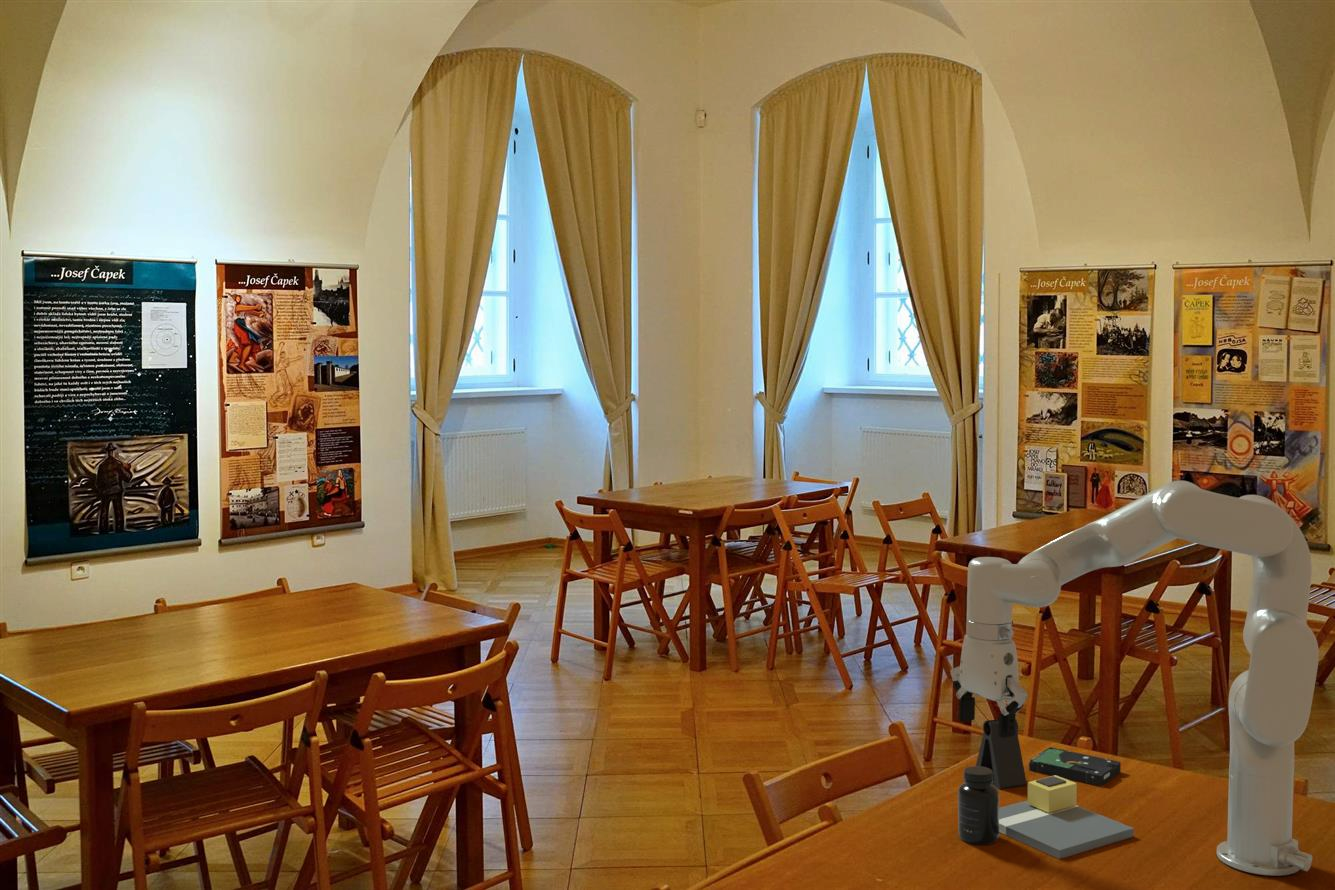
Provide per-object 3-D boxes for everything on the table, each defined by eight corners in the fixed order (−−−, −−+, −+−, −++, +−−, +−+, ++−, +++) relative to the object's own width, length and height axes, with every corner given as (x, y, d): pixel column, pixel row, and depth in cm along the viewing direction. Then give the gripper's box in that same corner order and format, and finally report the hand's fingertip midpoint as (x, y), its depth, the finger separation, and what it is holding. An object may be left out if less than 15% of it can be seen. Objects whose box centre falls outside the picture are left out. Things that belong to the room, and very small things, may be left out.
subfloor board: (1133, 836, 218) (1133, 828, 218) (1059, 859, 209) (1059, 850, 209) (1049, 802, 234) (1049, 794, 234) (977, 821, 225) (977, 813, 225)
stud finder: (1076, 804, 228) (1076, 781, 228) (1048, 812, 224) (1048, 788, 224) (1055, 796, 232) (1055, 773, 232) (1027, 803, 229) (1027, 780, 228)
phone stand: (1026, 786, 243) (1027, 724, 242) (999, 789, 241) (1000, 728, 240) (1000, 770, 252) (1001, 711, 251) (973, 774, 250) (974, 714, 249)
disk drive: (1121, 775, 250) (1048, 759, 260) (1121, 761, 250) (1049, 745, 259) (1101, 789, 242) (1027, 772, 252) (1101, 775, 242) (1028, 758, 251)
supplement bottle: (971, 827, 223) (972, 760, 222) (1006, 837, 218) (1007, 769, 217) (950, 838, 218) (950, 770, 217) (985, 849, 213) (985, 779, 212)
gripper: (1042, 638, 210) (1039, 739, 211) (970, 618, 225) (967, 712, 227) (1009, 643, 206) (1006, 746, 208) (937, 622, 221) (935, 718, 223)
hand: (986, 728), depth 217 cm, fingers open, 9 cm apart
